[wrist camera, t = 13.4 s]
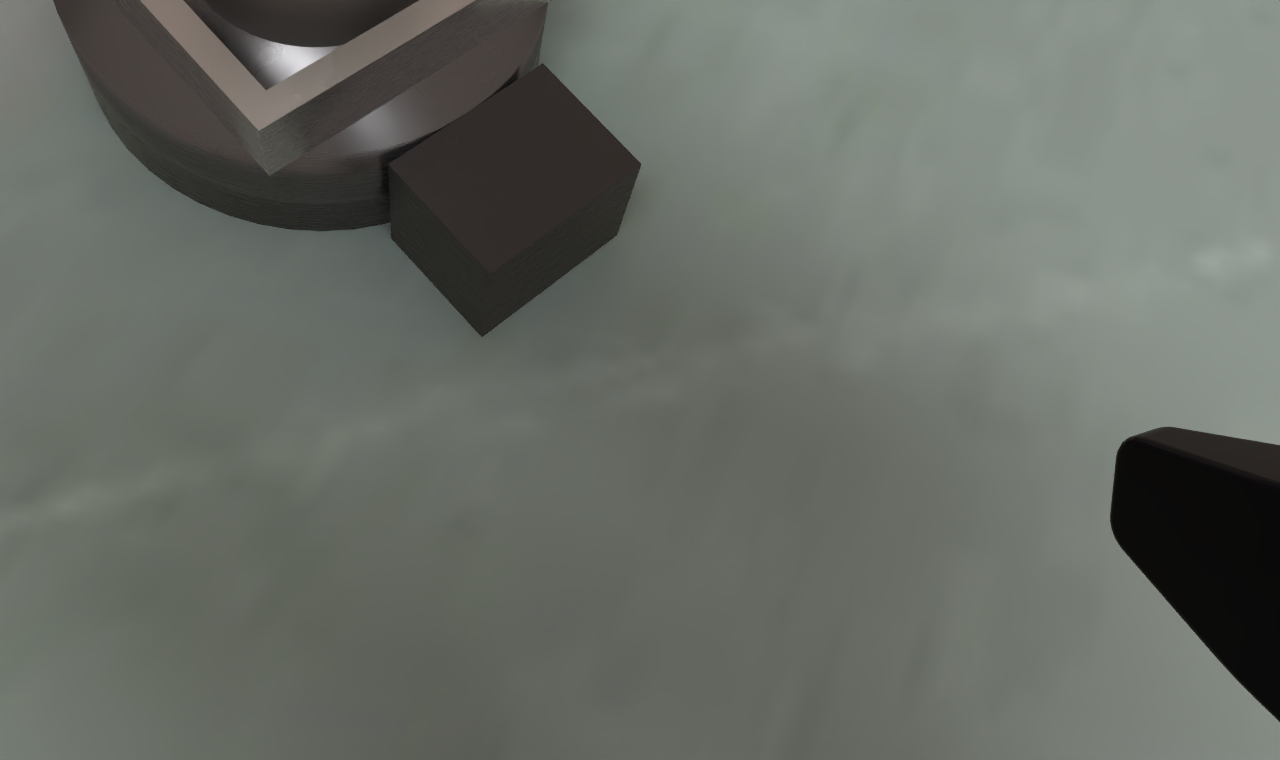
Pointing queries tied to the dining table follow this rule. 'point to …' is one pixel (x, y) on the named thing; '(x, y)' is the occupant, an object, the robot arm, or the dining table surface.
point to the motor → (372, 135)
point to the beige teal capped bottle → (307, 18)
